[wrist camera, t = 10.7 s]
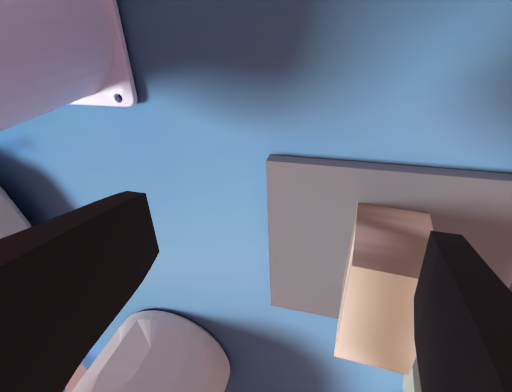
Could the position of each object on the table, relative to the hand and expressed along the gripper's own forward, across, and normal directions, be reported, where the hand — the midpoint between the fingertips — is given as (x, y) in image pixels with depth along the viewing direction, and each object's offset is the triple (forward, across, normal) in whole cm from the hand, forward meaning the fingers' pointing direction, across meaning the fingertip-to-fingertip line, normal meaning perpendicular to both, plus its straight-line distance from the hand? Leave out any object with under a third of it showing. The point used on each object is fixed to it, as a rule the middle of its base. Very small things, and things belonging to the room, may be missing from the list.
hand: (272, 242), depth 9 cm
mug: (+11, +12, +24) cm, 29 cm away
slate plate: (+10, -4, +8) cm, 14 cm away
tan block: (+10, -4, +7) cm, 13 cm away
